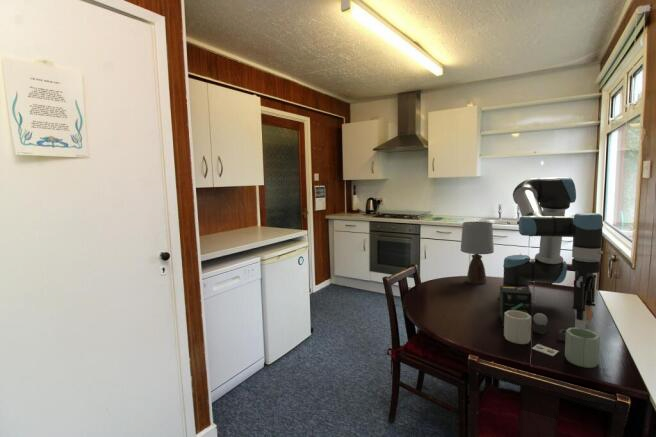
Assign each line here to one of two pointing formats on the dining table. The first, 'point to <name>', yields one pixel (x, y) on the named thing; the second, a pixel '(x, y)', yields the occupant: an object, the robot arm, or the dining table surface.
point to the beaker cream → (517, 327)
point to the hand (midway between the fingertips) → (582, 325)
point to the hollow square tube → (562, 334)
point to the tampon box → (514, 300)
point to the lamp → (477, 248)
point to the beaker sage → (582, 347)
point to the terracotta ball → (587, 313)
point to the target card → (545, 350)
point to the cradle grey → (539, 328)
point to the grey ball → (540, 319)
